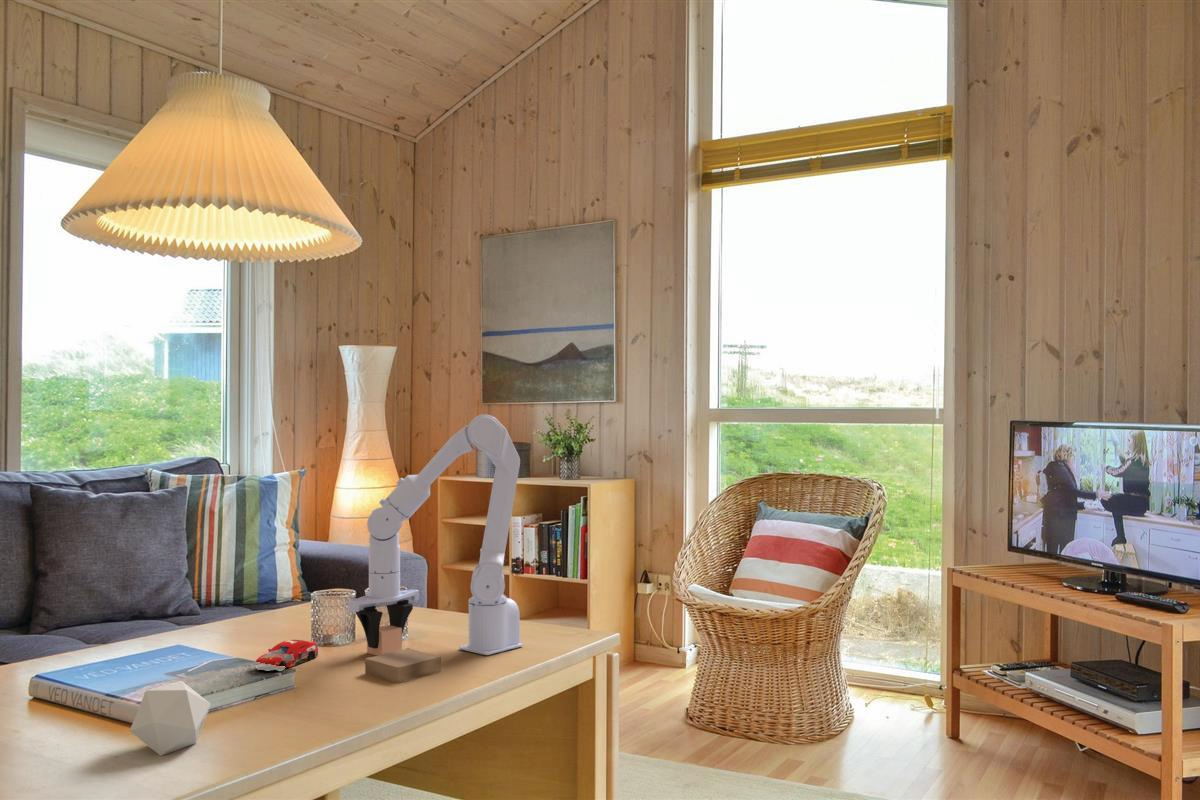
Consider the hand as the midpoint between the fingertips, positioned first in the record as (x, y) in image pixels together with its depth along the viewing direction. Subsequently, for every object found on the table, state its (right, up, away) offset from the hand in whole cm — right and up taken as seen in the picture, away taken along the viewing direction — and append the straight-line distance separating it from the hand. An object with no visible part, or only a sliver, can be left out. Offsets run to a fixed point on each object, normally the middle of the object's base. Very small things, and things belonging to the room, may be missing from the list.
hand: (384, 644), depth 174 cm
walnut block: (+6, -2, -14) cm, 16 cm away
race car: (-16, -2, -8) cm, 18 cm away
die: (-17, -1, -50) cm, 53 cm away
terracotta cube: (0, -1, 0) cm, 1 cm away
